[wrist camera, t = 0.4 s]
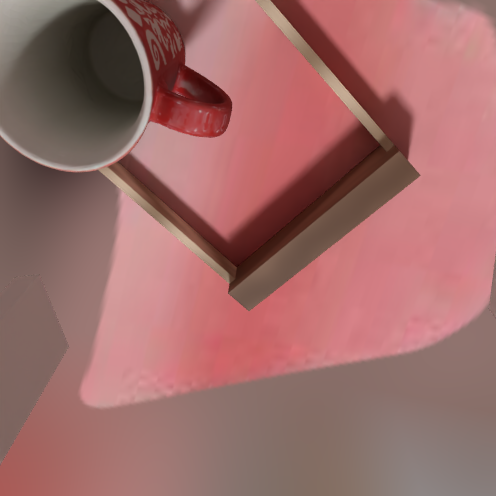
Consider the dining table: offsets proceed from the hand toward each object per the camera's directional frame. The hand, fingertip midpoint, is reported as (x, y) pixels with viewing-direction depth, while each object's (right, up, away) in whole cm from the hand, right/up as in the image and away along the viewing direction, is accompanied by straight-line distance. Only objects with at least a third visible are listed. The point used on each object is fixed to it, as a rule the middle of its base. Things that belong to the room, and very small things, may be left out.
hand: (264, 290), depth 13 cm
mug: (-7, +15, +20) cm, 26 cm away
